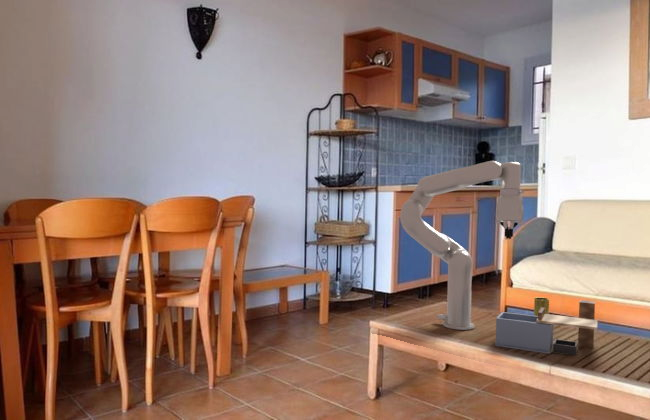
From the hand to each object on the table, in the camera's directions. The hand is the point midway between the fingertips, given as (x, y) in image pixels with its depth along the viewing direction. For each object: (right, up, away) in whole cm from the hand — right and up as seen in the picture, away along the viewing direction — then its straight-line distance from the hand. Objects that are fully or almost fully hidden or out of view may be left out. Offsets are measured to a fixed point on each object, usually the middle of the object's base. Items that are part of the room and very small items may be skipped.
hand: (508, 238), depth 209 cm
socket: (+10, -38, -28) cm, 48 cm away
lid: (+10, -28, -28) cm, 41 cm away
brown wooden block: (+21, -38, -19) cm, 48 cm away
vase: (+11, -38, -5) cm, 40 cm away
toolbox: (-2, -38, -21) cm, 43 cm away
